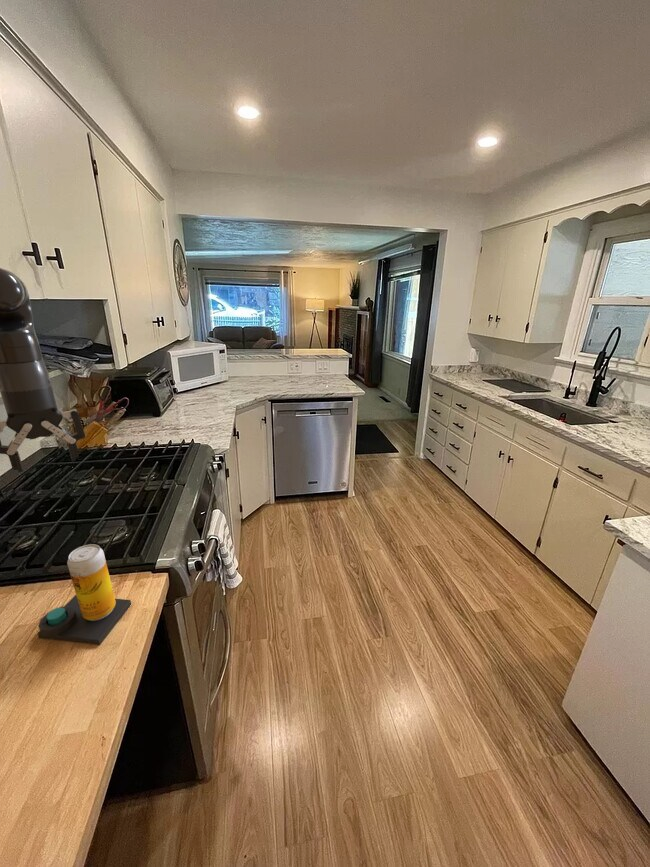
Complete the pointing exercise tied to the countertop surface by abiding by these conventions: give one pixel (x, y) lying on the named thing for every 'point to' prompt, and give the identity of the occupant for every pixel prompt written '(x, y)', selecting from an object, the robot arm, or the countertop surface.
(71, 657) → the countertop surface
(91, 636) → the scale
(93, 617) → the beer can
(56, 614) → the button
